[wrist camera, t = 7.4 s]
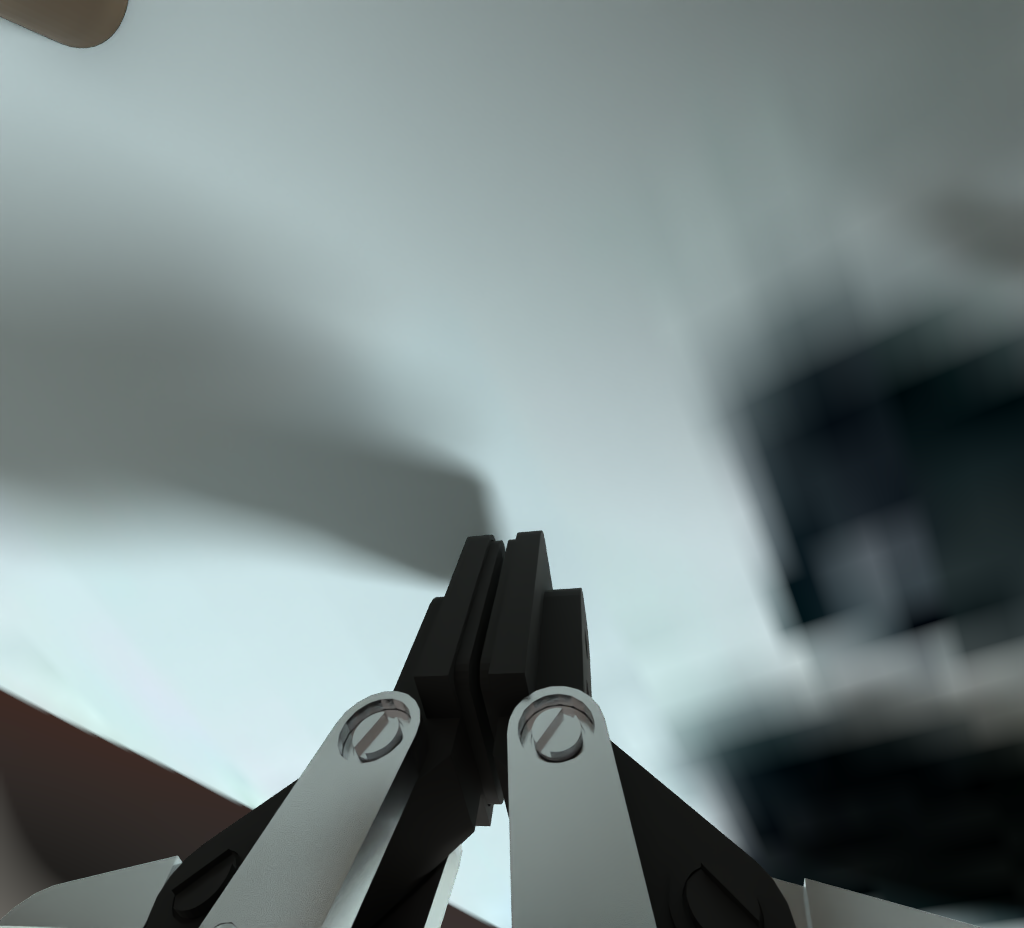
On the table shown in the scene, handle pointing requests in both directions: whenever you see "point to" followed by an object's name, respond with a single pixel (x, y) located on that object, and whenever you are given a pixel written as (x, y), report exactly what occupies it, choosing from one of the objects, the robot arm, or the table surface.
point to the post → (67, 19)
